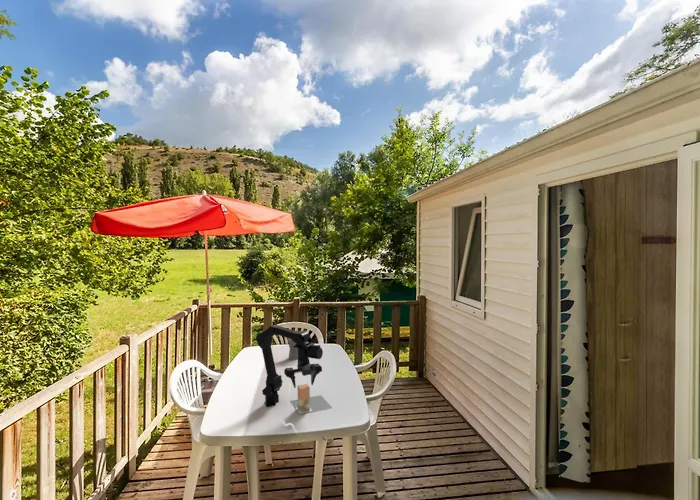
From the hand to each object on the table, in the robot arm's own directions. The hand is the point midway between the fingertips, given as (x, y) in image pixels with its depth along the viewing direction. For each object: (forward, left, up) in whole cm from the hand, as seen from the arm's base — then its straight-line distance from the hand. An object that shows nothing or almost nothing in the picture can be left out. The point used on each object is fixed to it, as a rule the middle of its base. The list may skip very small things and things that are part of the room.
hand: (303, 386), depth 192 cm
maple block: (0, 0, -12) cm, 12 cm away
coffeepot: (+19, +87, -13) cm, 90 cm away
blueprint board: (+5, +4, -13) cm, 14 cm away
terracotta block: (0, 0, -6) cm, 6 cm away
